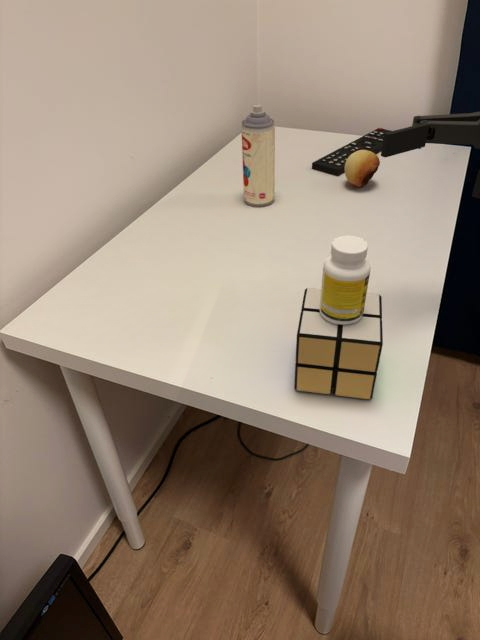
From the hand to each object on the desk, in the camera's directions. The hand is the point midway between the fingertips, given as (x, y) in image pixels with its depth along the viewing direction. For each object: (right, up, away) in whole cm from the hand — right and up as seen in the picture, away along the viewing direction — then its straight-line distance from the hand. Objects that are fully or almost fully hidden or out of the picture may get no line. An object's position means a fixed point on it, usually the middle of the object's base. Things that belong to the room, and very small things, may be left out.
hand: (426, 163), depth 53 cm
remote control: (+11, +27, +74) cm, 80 cm away
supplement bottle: (-8, -16, +7) cm, 20 cm away
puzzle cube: (-7, -24, +14) cm, 29 cm away
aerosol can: (-16, +9, +55) cm, 58 cm away
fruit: (+7, +14, +59) cm, 61 cm away
